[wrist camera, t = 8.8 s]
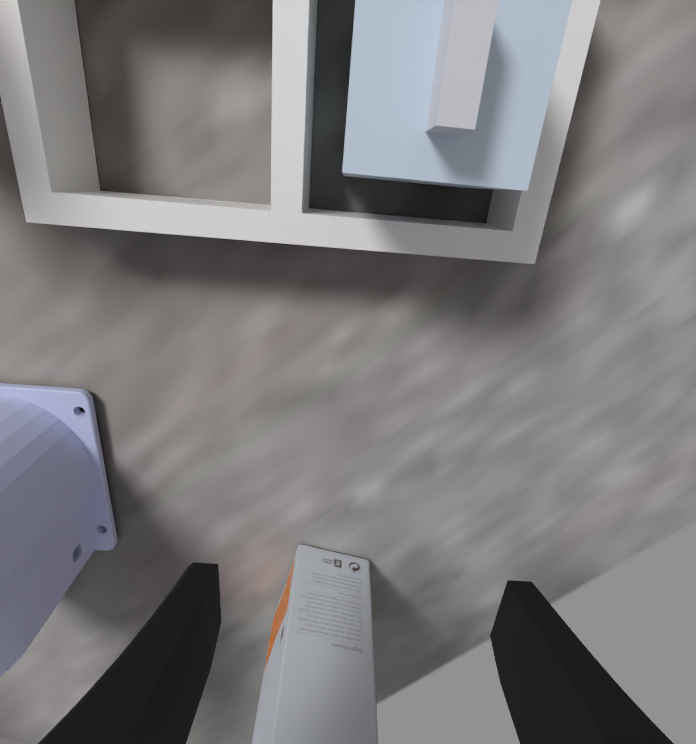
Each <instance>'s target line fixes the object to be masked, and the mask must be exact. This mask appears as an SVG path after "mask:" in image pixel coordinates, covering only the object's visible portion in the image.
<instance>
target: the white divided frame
mask: <svg viewBox="0 0 696 744" xmlns="http://www.w3.org/2000/svg"><path fill="white" fill-rule="evenodd" d="M317 4H318V0H273V32H272V146H271V205H265V204H254V203H242V202H230V201H219V200H207V199H195V198H183V197H172V196H160V195H148V194H137V193H125V192H113V191H102V190H100V185H99V178H98V171H97V163H96V156H95V149H94V141H93V134H92V127H91V120H90V112H89V105H88V98H87V90H86V83H85V76H84V68H83V61H82V54H81V46H80V39H79V32H78V24H77V17H76V10H75V2H74V0H0V97H1V102H2V107H3V112H4V116H5V121H6V126H7V131H8V136H9V141H10V146H11V151H12V155H13V160H14V165H15V170H16V175H17V180H18V185H19V190H20V194H21V199H22V204H23V209H24V214H25V219H26V222H29V223H41V224H53V225H65V226H77V227H89V228H102V229H114V230H126V231H138V232H150V233H162V234H174V235H186V236H199V237H211V238H223V239H235V240H247V241H259V242H271V243H283V244H296V245H308V246H320V247H332V248H344V249H356V250H368V251H380V252H393V253H405V254H417V255H429V256H441V257H453V258H465V259H477V260H490V261H502V262H514V263H526V264H535V261H536V257H537V253H538V249H539V245H540V241H541V237H542V233H543V229H544V225H545V221H546V217H547V213H548V209H549V205H550V201H551V197H552V193H553V189H554V185H555V181H556V177H557V173H558V169H559V165H560V160H561V156H562V152H563V148H564V144H565V140H566V136H567V132H568V128H569V124H570V120H571V116H572V112H573V108H574V104H575V100H576V96H577V92H578V88H579V84H580V80H581V76H582V72H583V68H584V64H585V60H586V56H587V52H588V48H589V44H590V40H591V36H592V32H593V28H594V24H595V20H596V16H597V12H598V8H599V4H600V0H572V4H571V8H570V12H569V17H568V21H567V25H566V29H565V34H564V38H563V42H562V46H561V51H560V55H559V59H558V63H557V68H556V72H555V76H554V80H553V84H552V89H551V93H550V97H549V101H548V106H547V110H546V114H545V118H544V123H543V127H542V131H541V135H540V140H539V144H538V148H537V152H536V157H535V161H534V165H533V169H532V174H531V178H530V182H529V186H528V190H527V191H519V190H499V189H493V191H492V196H491V201H490V206H489V211H488V216H487V221H486V223H476V222H464V221H453V220H441V219H429V218H418V217H406V216H394V215H382V214H371V213H359V212H347V211H336V210H324V209H312V208H309V196H310V172H311V148H312V124H313V100H314V76H315V52H316V28H317Z"/></svg>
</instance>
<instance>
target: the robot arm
mask: <svg viewBox="0 0 696 744" xmlns="http://www.w3.org/2000/svg"><path fill="white" fill-rule="evenodd" d="M79 407H82V408H83V409H84V410H85V412H82V411H81V410H80V409H79ZM103 526H104V527H105V528H104V527H103ZM116 543H117V534H116V529H115V523H114V517H113V511H112V506H111V500H110V494H109V488H108V483H107V477H106V471H105V465H104V459H103V454H102V448H101V442H100V436H99V431H98V425H97V419H96V413H95V408H94V402H93V398H92V395H91V394H90V393H89V392H87V391H86V390H83V389H77V388H62V387H48V386H34V385H19V384H5V383H0V676H2V675H3V674H4V673H5V672H6V671H7V670H8V669H9V668H10V667H11V666H12V665H13V664H14V663H15V662H16V661H17V660H18V659H19V658H20V657H21V656H22V654H23V653H24V652H25V651H26V649H27V648H28V647H29V645H30V644H31V642H32V641H33V640H34V638H35V637H36V635H37V634H38V632H39V631H40V629H41V628H42V626H43V625H44V623H45V622H46V621H47V619H48V618H49V616H50V615H51V613H52V612H53V610H54V609H55V607H56V606H57V604H58V603H59V602H60V600H61V599H62V597H63V596H64V594H65V593H66V591H67V590H68V588H69V587H70V585H71V584H72V583H73V581H74V580H75V578H76V577H77V575H78V574H79V572H80V571H81V569H82V568H83V566H84V565H85V564H86V562H87V561H88V559H89V558H90V556H91V555H92V553H93V552H94V550H105V551H107V550H111V549H113V548H114V547H115V545H116ZM220 625H221V609H220V590H219V571H218V564H208V563H192V564H191V565H189V566H188V568H187V569H186V571H185V572H184V574H183V575H182V576H181V578H180V579H179V581H178V582H177V583H176V585H175V586H174V588H173V589H172V590H171V592H170V593H169V594H168V596H167V597H166V598H165V600H164V601H163V602H162V604H161V605H160V606H159V608H158V609H157V610H156V612H155V613H154V614H153V615H152V617H151V618H150V619H149V620H148V622H147V623H146V624H145V625H144V627H143V628H142V629H141V630H140V632H139V633H138V634H137V635H136V637H135V638H134V639H133V640H132V642H131V643H130V644H129V645H128V646H127V648H126V649H125V650H124V651H123V652H122V654H121V655H120V656H119V657H118V658H117V659H116V660H115V662H114V663H113V664H112V665H111V666H110V667H109V668H108V670H107V671H106V672H105V673H104V674H103V675H102V676H101V678H100V679H99V680H98V681H97V682H96V683H95V684H94V686H93V687H92V688H91V689H90V690H89V691H88V692H87V693H86V694H85V695H84V697H83V698H82V699H81V700H80V701H79V702H78V703H77V704H76V705H75V706H74V707H73V708H72V709H71V710H70V711H69V713H68V714H67V715H66V716H65V717H64V718H63V719H62V720H61V721H60V722H59V723H58V724H57V725H56V726H55V727H54V728H53V729H52V730H51V731H50V732H49V733H48V734H47V735H46V736H45V737H44V738H43V739H42V740H41V741H40V742H39V743H38V744H186V741H187V738H188V735H189V732H190V729H191V726H192V723H193V720H194V717H195V714H196V711H197V708H198V705H199V702H200V699H201V696H202V693H203V690H204V687H205V684H206V681H207V678H208V675H209V671H210V668H211V664H212V660H213V656H214V651H215V647H216V643H217V638H218V634H219V629H220ZM490 636H491V641H492V646H493V651H494V656H495V661H496V665H497V670H498V673H499V678H500V682H501V686H502V689H503V692H504V695H505V698H506V702H507V705H508V708H509V711H510V714H511V717H512V720H513V723H514V726H515V729H516V732H517V735H518V738H519V741H520V744H673V743H672V742H671V741H670V740H669V739H668V737H666V736H665V734H664V733H663V732H662V731H661V730H660V729H658V727H657V726H656V725H655V724H654V723H653V722H652V721H651V720H650V719H649V718H648V717H647V716H646V715H645V713H644V712H642V710H641V709H640V708H639V707H638V706H637V705H636V704H635V703H634V702H633V701H632V700H631V698H630V697H629V696H628V695H627V694H626V693H625V692H624V691H623V690H622V689H621V687H619V685H618V684H617V683H616V682H615V681H614V680H613V678H612V677H611V676H610V675H609V674H608V673H607V672H606V670H604V668H603V667H602V666H601V665H600V663H599V662H598V661H597V660H596V659H595V658H594V657H593V656H592V654H591V653H590V652H589V651H588V650H587V648H586V647H585V646H584V645H583V644H582V642H581V641H580V640H579V639H578V638H577V637H576V635H575V634H574V633H573V632H572V630H571V629H570V628H569V627H568V626H567V624H566V623H565V622H564V621H563V619H562V618H561V617H560V616H559V615H558V613H557V612H556V611H555V610H554V608H553V607H552V606H551V605H550V604H549V602H548V601H547V600H546V599H545V597H544V596H543V595H542V594H541V593H540V591H539V590H538V589H537V588H536V586H535V585H534V584H533V583H532V582H526V581H507V584H506V587H505V591H504V594H503V597H502V600H501V603H500V606H499V610H498V613H497V616H496V619H495V622H494V626H493V629H492V632H491V635H490Z"/></svg>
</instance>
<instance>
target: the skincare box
mask: <svg viewBox="0 0 696 744" xmlns="http://www.w3.org/2000/svg"><path fill="white" fill-rule="evenodd" d="M252 744H378V730H377V708H376V691H375V670H374V648H373V625H372V604H371V584H370V564H369V561H368V560H366V559H362V558H358V557H354V556H350V555H345V554H341V553H337V552H332V551H327V550H323V549H319V548H315V547H311V546H307V545H299V546H298V547H297V550H296V554H295V557H294V560H293V563H292V566H291V569H290V572H289V575H288V578H287V581H286V584H285V587H284V589H283V592H282V595H281V597H280V600H279V602H278V605H277V608H276V610H275V613H274V618H273V624H272V630H271V635H270V640H269V646H268V652H267V658H266V663H265V669H264V675H263V681H262V686H261V692H260V698H259V704H258V709H257V715H256V721H255V727H254V732H253V738H252Z"/></svg>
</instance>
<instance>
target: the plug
mask: <svg viewBox="0 0 696 744" xmlns="http://www.w3.org/2000/svg"><path fill="white" fill-rule="evenodd" d="M571 4H572V0H355V12H354V25H353V38H352V51H351V64H350V77H349V90H348V103H347V116H346V129H345V142H344V155H343V168H342V173H343V176H348V177H358V178H368V179H378V180H388V181H398V182H408V183H418V184H428V185H439V186H449V187H460V188H479V189H499V190H519V191H527V190H528V186H529V182H530V178H531V174H532V169H533V165H534V161H535V157H536V152H537V148H538V144H539V140H540V135H541V131H542V127H543V123H544V118H545V114H546V110H547V106H548V101H549V97H550V93H551V89H552V84H553V80H554V76H555V72H556V68H557V63H558V59H559V55H560V51H561V46H562V42H563V38H564V34H565V29H566V25H567V21H568V17H569V12H570V8H571Z"/></svg>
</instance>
